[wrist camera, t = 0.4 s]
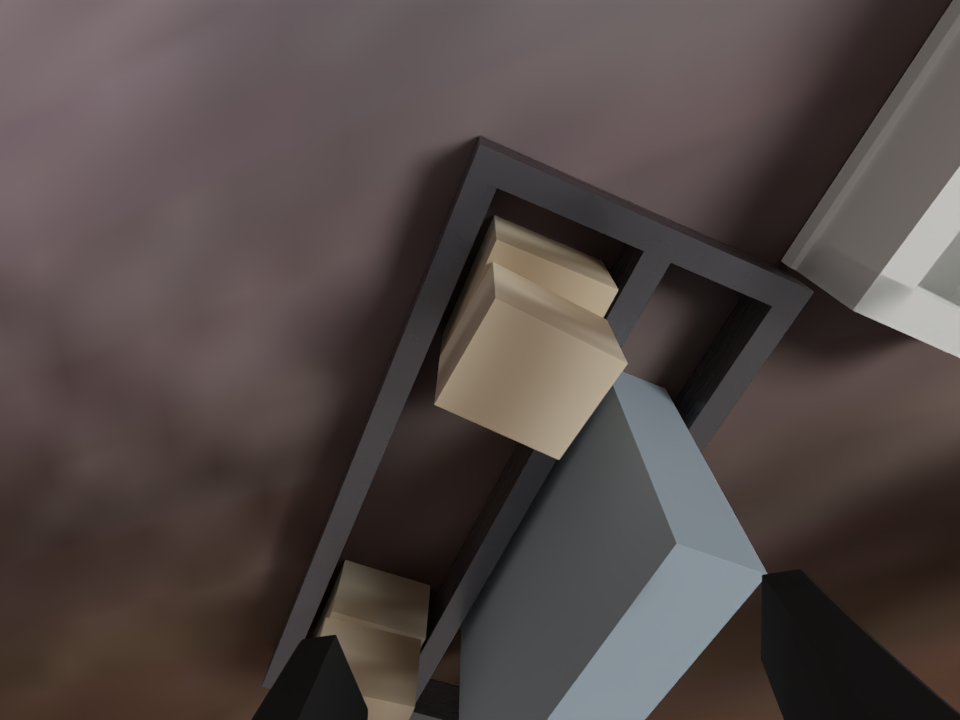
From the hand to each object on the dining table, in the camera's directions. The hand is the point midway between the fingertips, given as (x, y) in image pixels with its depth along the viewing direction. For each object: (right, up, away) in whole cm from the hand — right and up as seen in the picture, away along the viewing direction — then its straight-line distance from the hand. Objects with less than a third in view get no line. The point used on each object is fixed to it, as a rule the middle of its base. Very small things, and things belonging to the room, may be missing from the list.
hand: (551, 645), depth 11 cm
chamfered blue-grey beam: (+1, -1, +12) cm, 12 cm away
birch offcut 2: (-5, -6, +12) cm, 14 cm away
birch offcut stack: (0, +7, +8) cm, 11 cm away
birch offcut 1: (-5, -5, +14) cm, 16 cm away
